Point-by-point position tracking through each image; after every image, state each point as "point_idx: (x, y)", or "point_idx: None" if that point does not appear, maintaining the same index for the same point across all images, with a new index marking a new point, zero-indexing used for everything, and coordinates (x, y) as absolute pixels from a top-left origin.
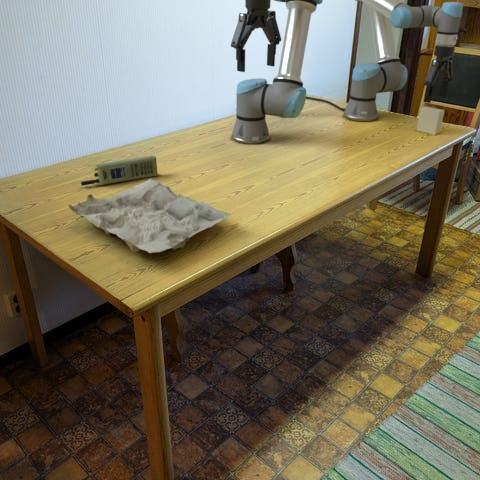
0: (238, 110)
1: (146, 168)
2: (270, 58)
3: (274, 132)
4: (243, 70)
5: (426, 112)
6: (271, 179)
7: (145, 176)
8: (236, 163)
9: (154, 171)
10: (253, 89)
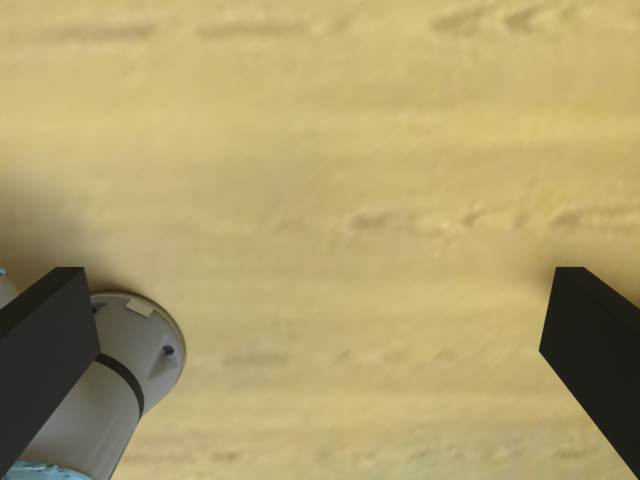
0: (130, 433)
1: None
2: (45, 354)
3: None
4: (589, 274)
5: None
6: (346, 18)
7: None
8: (325, 213)
9: None
10: (41, 463)
